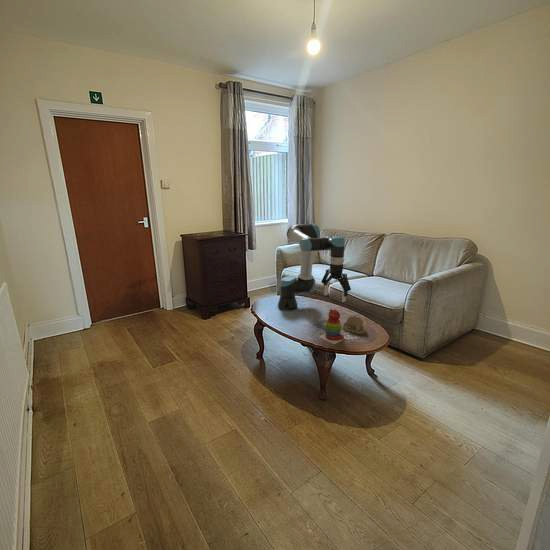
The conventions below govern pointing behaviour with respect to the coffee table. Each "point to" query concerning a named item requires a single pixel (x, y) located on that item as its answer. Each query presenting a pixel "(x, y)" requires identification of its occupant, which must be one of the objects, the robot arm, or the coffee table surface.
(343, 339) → the pad
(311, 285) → the robot arm
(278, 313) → the coffee table surface
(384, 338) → the coffee table surface
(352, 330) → the beige lumpy chunk
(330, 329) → the stacking bear
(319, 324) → the pad
